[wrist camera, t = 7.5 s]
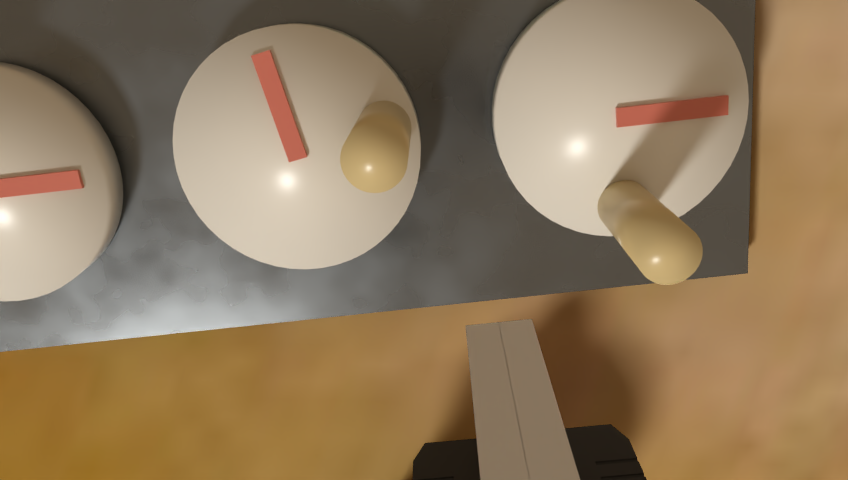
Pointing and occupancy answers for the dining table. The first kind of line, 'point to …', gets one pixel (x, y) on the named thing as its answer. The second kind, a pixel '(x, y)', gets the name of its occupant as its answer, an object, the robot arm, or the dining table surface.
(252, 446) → the dining table surface
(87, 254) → the knob
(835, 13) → the dining table surface
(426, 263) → the base plate
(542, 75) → the knob
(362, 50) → the knob middle
